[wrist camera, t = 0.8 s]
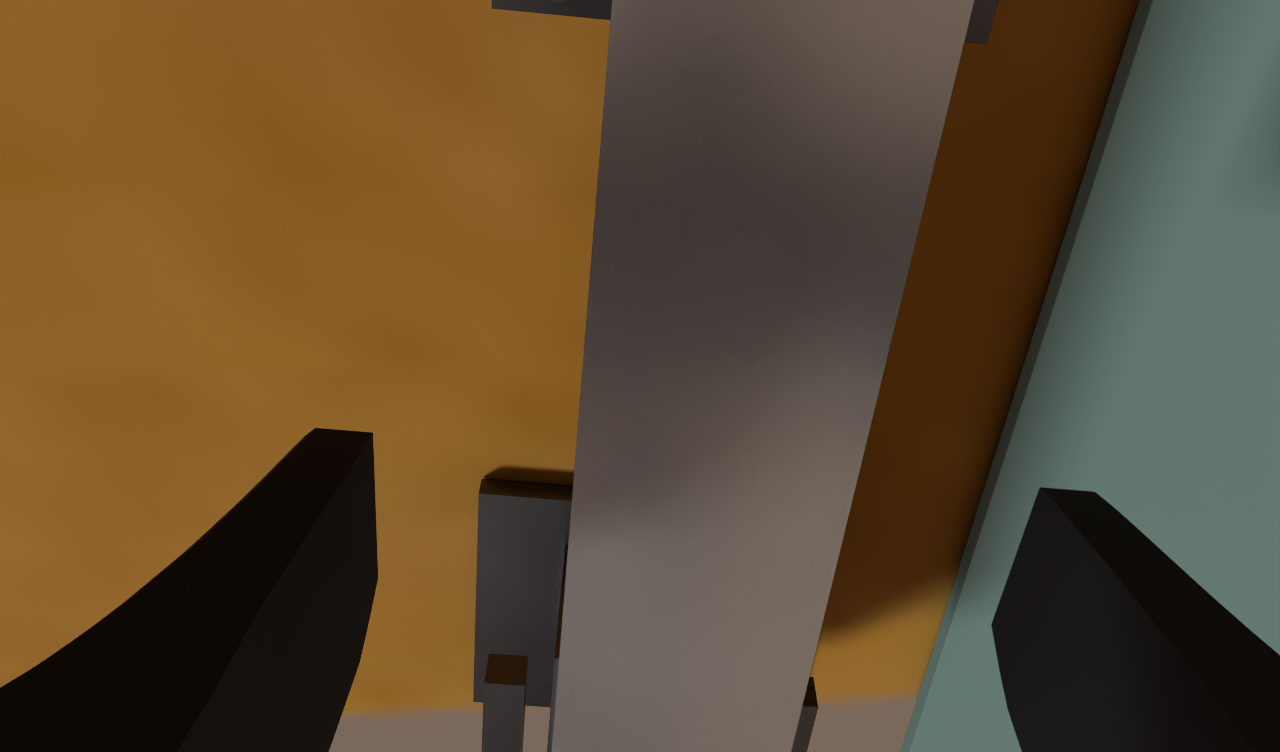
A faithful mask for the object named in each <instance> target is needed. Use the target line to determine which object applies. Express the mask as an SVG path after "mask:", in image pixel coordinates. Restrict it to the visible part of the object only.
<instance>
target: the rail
mask: <svg viewBox="0 0 1280 752" xmlns="http://www.w3.org/2000/svg"><path fill="white" fill-rule="evenodd" d="M973 4H974V0H612V9H611V22H610V34H609V46H608V59H607V71H606V84H605V96H604V108H603V121H602V133H601V146H600V158H599V170H598V183H597V195H596V208H595V220H594V233H593V245H592V257H591V270H590V282H589V295H588V307H587V319H586V332H585V344H584V357H583V369H582V382H581V394H580V406H579V419H578V431H577V444H576V456H575V468H574V481H573V493H572V506H571V518H570V531H569V543H568V555H567V568H566V580H565V593H564V605H563V617H562V630H561V642H560V655H559V667H558V680H557V692H556V704H555V717H554V729H553V742H552V752H791V750H792V746H793V742H794V738H795V734H796V730H797V726H798V722H799V717H800V713H801V709H802V705H803V701H804V697H805V693H806V689H807V685H808V681H809V676H810V672H811V668H812V664H813V660H814V656H815V652H816V648H817V644H818V640H819V635H820V631H821V627H822V623H823V619H824V615H825V611H826V607H827V603H828V599H829V594H830V590H831V586H832V582H833V578H834V574H835V570H836V566H837V562H838V557H839V553H840V549H841V545H842V541H843V537H844V533H845V529H846V525H847V521H848V516H849V512H850V508H851V504H852V500H853V496H854V492H855V488H856V484H857V480H858V475H859V471H860V467H861V463H862V459H863V455H864V451H865V447H866V443H867V439H868V434H869V430H870V426H871V422H872V418H873V414H874V410H875V406H876V402H877V398H878V393H879V389H880V385H881V381H882V377H883V373H884V369H885V365H886V361H887V356H888V352H889V348H890V344H891V340H892V336H893V332H894V328H895V324H896V320H897V315H898V311H899V307H900V303H901V299H902V295H903V291H904V287H905V283H906V279H907V274H908V270H909V266H910V262H911V258H912V254H913V250H914V246H915V242H916V238H917V233H918V229H919V225H920V221H921V217H922V213H923V209H924V205H925V201H926V197H927V192H928V188H929V184H930V180H931V176H932V172H933V168H934V164H935V160H936V155H937V151H938V147H939V143H940V139H941V135H942V131H943V127H944V123H945V119H946V114H947V110H948V106H949V102H950V98H951V94H952V90H953V86H954V82H955V78H956V73H957V69H958V65H959V61H960V57H961V53H962V49H963V45H964V41H965V37H966V32H967V28H968V24H969V20H970V16H971V12H972V8H973Z"/></svg>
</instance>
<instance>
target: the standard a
mask: <svg viewBox="0 0 1280 752" xmlns="http://www.w3.org/2000/svg"><path fill="white" fill-rule="evenodd" d="M572 493H573V486H563V485H551V484H538V483H526V482H513V481H501V480H488V479H482V480H481V485H480V490H479V506H478V544H477V583H476V621H475V659H474V697H473V702H483V731H482V752H522V750H523V733H524V718H525V705H527V706H541V707H551V709H550V722H549V734H548V748H547V752H552V742H553V729H554V717H555V704H556V692H557V680H558V667H559V655H560V642H561V630H562V617H563V605H564V593H565V580H566V568H567V555H568V543H569V531H570V518H571V506H572ZM817 710H818V704H817V697H816V691H815V685H814V678H813V677H809V681H808V685H807V689H806V693H805V697H804V701H803V705H802V709H801V713H800V717H799V722H798V726H797V730H796V734H795V738H794V742H793V746H792V750H791V752H807V749H808V745H809V741H810V737H811V733H812V729H813V725H814V721H815V717H816V713H817Z"/></svg>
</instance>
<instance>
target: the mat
mask: <svg viewBox="0 0 1280 752" xmlns="http://www.w3.org/2000/svg"><path fill="white" fill-rule="evenodd" d="M1040 487H1044V488H1056V489H1068V490H1080V491H1093V492H1096V493H1097V494H1098V495H1100V496H1101V497H1102V498H1103V499H1105V500H1106V501H1107V502H1108V503H1109V504H1111V505H1112V506H1113V507H1114V508H1115V509H1116V510H1118V511H1119V512H1120V513H1121V514H1122V515H1123V516H1124V517H1126V518H1127V519H1128V520H1129V521H1130V522H1131V523H1132V524H1133V525H1134V526H1136V527H1137V528H1138V529H1139V530H1140V531H1141V532H1142V533H1143V534H1144V535H1145V536H1147V537H1148V538H1149V539H1150V540H1151V541H1152V542H1153V543H1154V544H1155V545H1156V546H1157V547H1159V548H1160V549H1161V550H1162V551H1163V552H1164V553H1165V554H1166V555H1167V556H1168V557H1169V558H1171V559H1172V560H1173V561H1174V562H1175V563H1176V564H1177V565H1178V566H1179V567H1180V568H1181V569H1183V570H1184V571H1185V572H1186V573H1187V574H1188V575H1189V576H1190V577H1191V578H1192V579H1194V580H1195V581H1196V582H1197V583H1198V584H1199V585H1200V586H1201V587H1202V588H1203V589H1205V590H1206V591H1207V592H1208V593H1209V594H1210V595H1211V596H1212V597H1213V598H1215V599H1216V600H1217V601H1218V602H1219V603H1220V604H1221V605H1222V606H1224V607H1225V608H1226V609H1227V610H1228V611H1229V612H1230V613H1231V614H1232V615H1234V616H1235V617H1236V618H1237V619H1238V620H1239V621H1240V622H1242V623H1243V624H1244V625H1245V626H1246V627H1247V628H1249V629H1250V630H1251V631H1252V632H1253V633H1254V634H1256V635H1257V636H1258V637H1259V638H1260V639H1261V640H1263V641H1264V642H1265V643H1266V644H1267V645H1268V646H1270V647H1271V648H1272V649H1273V650H1274V651H1276V652H1277V653H1278V654H1279V655H1280V0H1139V3H1138V7H1137V10H1136V13H1135V16H1134V19H1133V22H1132V25H1131V29H1130V32H1129V35H1128V38H1127V41H1126V44H1125V47H1124V51H1123V54H1122V57H1121V60H1120V63H1119V66H1118V69H1117V73H1116V76H1115V79H1114V82H1113V85H1112V88H1111V91H1110V95H1109V98H1108V101H1107V104H1106V107H1105V110H1104V113H1103V117H1102V120H1101V123H1100V126H1099V129H1098V132H1097V135H1096V139H1095V142H1094V145H1093V148H1092V151H1091V154H1090V157H1089V161H1088V164H1087V167H1086V170H1085V173H1084V176H1083V179H1082V183H1081V186H1080V189H1079V192H1078V195H1077V198H1076V201H1075V205H1074V208H1073V211H1072V214H1071V217H1070V220H1069V223H1068V227H1067V230H1066V233H1065V236H1064V239H1063V242H1062V245H1061V249H1060V252H1059V255H1058V258H1057V261H1056V264H1055V267H1054V271H1053V274H1052V277H1051V280H1050V283H1049V286H1048V289H1047V293H1046V296H1045V299H1044V302H1043V305H1042V308H1041V311H1040V314H1039V318H1038V321H1037V324H1036V327H1035V330H1034V333H1033V336H1032V340H1031V343H1030V346H1029V349H1028V352H1027V355H1026V358H1025V362H1024V365H1023V368H1022V371H1021V374H1020V377H1019V380H1018V384H1017V387H1016V390H1015V393H1014V396H1013V399H1012V402H1011V406H1010V409H1009V412H1008V415H1007V418H1006V421H1005V424H1004V428H1003V431H1002V434H1001V437H1000V440H999V443H998V446H997V450H996V453H995V456H994V459H993V462H992V465H991V468H990V472H989V475H988V478H987V481H986V484H985V487H984V490H983V494H982V497H981V500H980V503H979V506H978V509H977V512H976V516H975V519H974V522H973V525H972V528H971V531H970V534H969V538H968V541H967V544H966V547H965V550H964V553H963V556H962V560H961V563H960V566H959V569H958V572H957V575H956V578H955V582H954V585H953V588H952V591H951V594H950V597H949V600H948V604H947V607H946V610H945V613H944V616H943V619H942V622H941V626H940V629H939V632H938V635H937V638H936V641H935V644H934V648H933V651H932V654H931V657H930V660H929V663H928V666H927V670H926V673H925V676H924V679H923V682H922V685H921V688H920V692H919V695H918V698H917V701H916V704H915V707H914V711H913V714H912V717H911V720H910V723H909V726H908V729H907V732H906V736H905V739H904V742H903V745H902V748H901V751H900V752H1022V751H1021V748H1020V745H1019V742H1018V739H1017V736H1016V733H1015V730H1014V727H1013V724H1012V721H1011V718H1010V715H1009V712H1008V709H1007V704H1006V699H1005V694H1004V690H1003V685H1002V680H1001V676H1000V671H999V665H998V660H997V654H996V649H995V643H994V638H993V632H992V626H991V624H992V621H993V618H994V615H995V612H996V610H997V607H998V604H999V601H1000V598H1001V595H1002V593H1003V590H1004V587H1005V584H1006V581H1007V578H1008V576H1009V573H1010V570H1011V567H1012V564H1013V561H1014V559H1015V556H1016V553H1017V550H1018V547H1019V544H1020V542H1021V539H1022V536H1023V533H1024V530H1025V527H1026V525H1027V522H1028V519H1029V516H1030V513H1031V510H1032V508H1033V505H1034V502H1035V499H1036V496H1037V493H1038V491H1039V488H1040Z"/></svg>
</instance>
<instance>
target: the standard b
mask: <svg viewBox="0 0 1280 752" xmlns="http://www.w3.org/2000/svg"><path fill="white" fill-rule="evenodd" d="M997 2H998V0H974V4H973V8H972V12H971V16H970V20H969V24H968V28H967V32H966V37H965V41H964V42H971V43H981V44H987V41H988V37H989V34H990V30H991V26H992V22H993V18H994V14H995V10H996V6H997ZM492 8H493V9H503V10H513V11H524V12H534V13H544V14H554V15H564V16H575V17H585V18H595V19H605V20H611V9H612V0H492Z"/></svg>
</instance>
